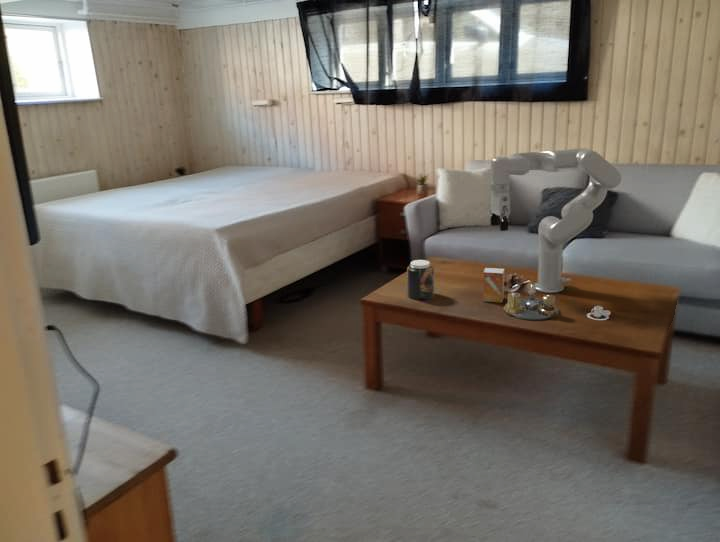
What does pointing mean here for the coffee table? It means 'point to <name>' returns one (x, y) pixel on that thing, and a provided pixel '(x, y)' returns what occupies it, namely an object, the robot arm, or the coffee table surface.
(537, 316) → the carrier
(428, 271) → the jar
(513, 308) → the gear
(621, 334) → the coffee table surface
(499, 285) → the small box
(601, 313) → the teacup and saucer
